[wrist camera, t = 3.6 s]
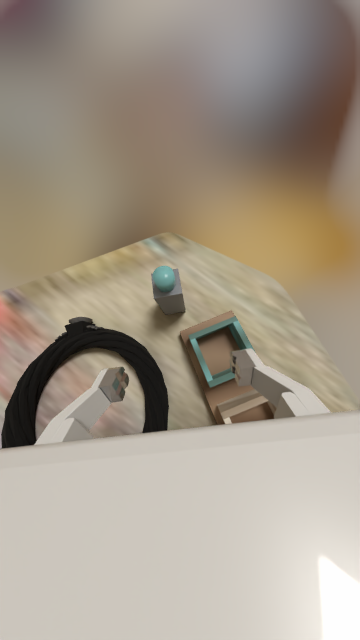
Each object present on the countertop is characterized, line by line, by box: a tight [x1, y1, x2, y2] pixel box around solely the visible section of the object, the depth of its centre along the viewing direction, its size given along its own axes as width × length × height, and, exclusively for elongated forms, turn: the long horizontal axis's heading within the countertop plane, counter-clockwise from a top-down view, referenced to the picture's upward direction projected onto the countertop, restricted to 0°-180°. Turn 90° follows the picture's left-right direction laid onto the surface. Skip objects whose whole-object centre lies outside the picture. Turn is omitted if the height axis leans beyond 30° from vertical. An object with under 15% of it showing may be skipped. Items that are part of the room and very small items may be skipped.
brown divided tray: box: [180, 310, 277, 425], centre depth 20 cm, size 22×10×4 cm, turn 22°
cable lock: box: [1, 317, 169, 448], centre depth 23 cm, size 28×4×30 cm
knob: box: [151, 266, 185, 315], centre depth 22 cm, size 4×4×10 cm
